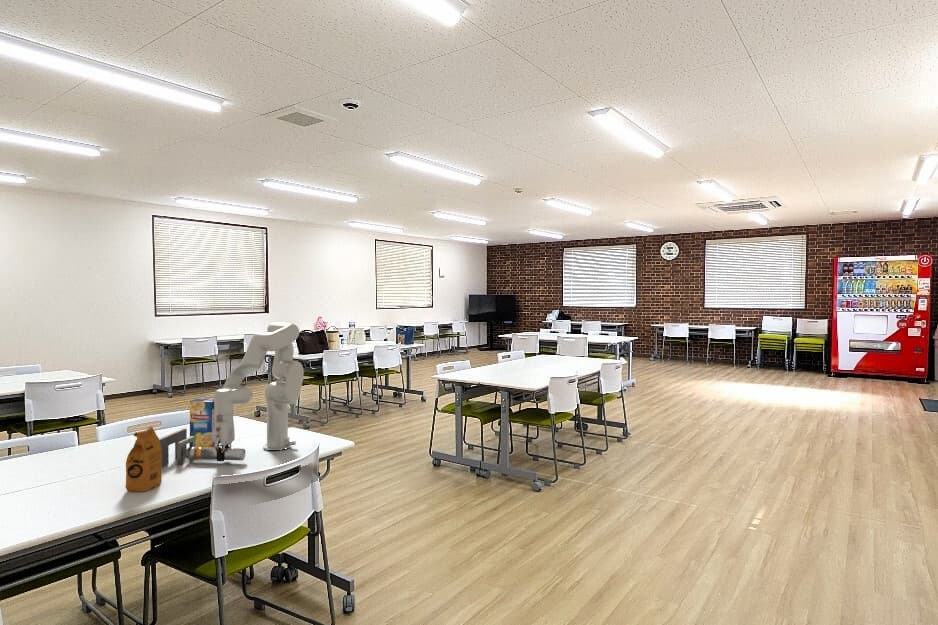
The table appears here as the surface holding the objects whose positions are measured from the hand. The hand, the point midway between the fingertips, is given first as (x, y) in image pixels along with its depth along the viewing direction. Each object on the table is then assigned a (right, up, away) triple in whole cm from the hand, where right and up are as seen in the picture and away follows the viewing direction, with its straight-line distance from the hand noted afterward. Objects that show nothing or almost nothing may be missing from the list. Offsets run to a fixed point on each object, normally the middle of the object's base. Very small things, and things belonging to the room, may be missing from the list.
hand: (223, 458), depth 243 cm
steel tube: (-4, 0, 0) cm, 4 cm away
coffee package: (-17, -3, -31) cm, 35 cm away
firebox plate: (-23, -1, +1) cm, 23 cm away
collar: (-17, -2, +1) cm, 17 cm away
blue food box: (-21, -1, +27) cm, 35 cm away
